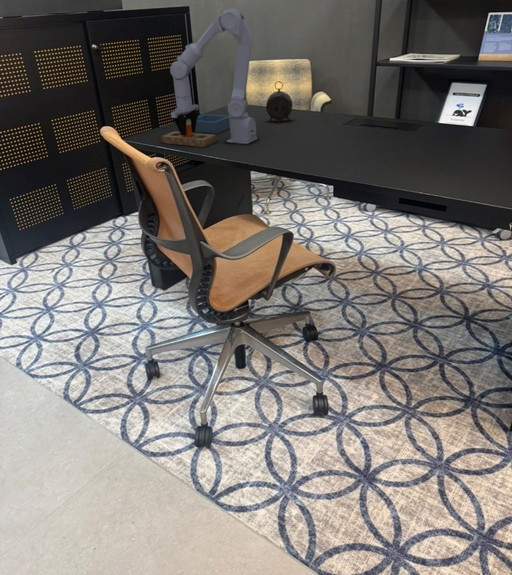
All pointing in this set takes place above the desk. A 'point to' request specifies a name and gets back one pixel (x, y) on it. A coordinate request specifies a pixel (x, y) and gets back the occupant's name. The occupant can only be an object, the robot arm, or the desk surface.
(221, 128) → the bin
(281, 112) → the alarm clock
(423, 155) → the desk surface
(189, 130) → the pill bottle
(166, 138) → the pen rack
